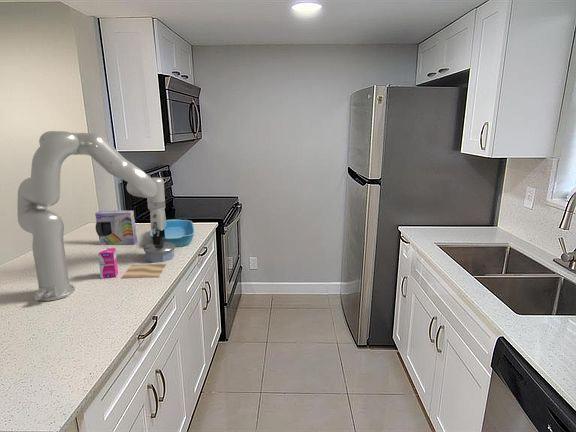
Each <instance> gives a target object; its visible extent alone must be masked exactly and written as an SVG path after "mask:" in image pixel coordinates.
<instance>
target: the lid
mask: <svg viewBox="0 0 576 432" xmlns="http://www.w3.org/2000/svg"><path fill="white" fill-rule="evenodd" d="M175 248H176V247H175V244H173V243H169V242H164V237H160V244H159V245H153V242H152V243H149V244H146V245H145V246H143V251H144V252H147V253H165V252H169V251H172V250H174V251H175Z"/></svg>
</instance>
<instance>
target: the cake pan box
mask: <svg viewBox="0 0 576 432" xmlns="http://www.w3.org/2000/svg"><path fill="white" fill-rule="evenodd" d="M134 212H135V211H134V210H117V209H116V210H115V209H114V210H97V212H95V215H94V216H95V219H96V220H95V221H96V223H95V231H96V235H97V236H98V239H99V241H98V242H99V245H101V246H105V245H106V246H108V245H109V246H111V245H113V246H115V245H118V246H119V245H136V244H137V243H138V235H137V227H136V226H137V225H136V221H135V213H134Z"/></svg>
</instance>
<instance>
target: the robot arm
mask: <svg viewBox="0 0 576 432" xmlns="http://www.w3.org/2000/svg"><path fill="white" fill-rule="evenodd" d="M38 141H39V143H38V144H39V146H38V148H37V149H36V150H35V153H34V155H33V156H32V160H31V167H30V168H31V170H30V177H27V178H25V179H23V181H22V182H21V183H20V184H19V186H18V189H17V222H18V225H19V227H20V228H21V229H22V230H24V231H25V232H27V233H30V234H31V235H32V243H31V244H32V245H31V247H32V253H33V255H32V256H33V260H34V261H33V262H34V268H35V273H36V279H37V280H36V281H37V284H38V285H37V286H38V290H37V291H36V292H35V293H34V296H33V299H34V300H35V301H39V302H40V301H42V302H50V301H57V300H60V299H63V298H66V297H69V296H70V295H72V294H74V292H75V290H76V287H75V286H74V285H73V284H70V278H69V272H68V270H69V269H68V264H67V263H68V262H67V257H66V250H65V244H64V243H65V242H64V230H65V229H64V228H65V225H64V221H63V219H62V218H61V216H60V215H59V214H58V213H56V212H55V211H52V210H49V209H48V207H52V206H54V205H56V204H57V203H58V202H59V200H60V197H61V173H62V171H61V170H62V165H63V163H64V162H65V161H66V159H67V158H68V157H70V156H71V155H73V156H75V155H76V156H77V155H81V156H83V155H84V156H85V155H86V156H89V157H91V158H92V159H93V160H94V161H95V162H97V164H98V165H99V166H101V168H103V169H104V170H105V171H106V172H107V173H108V174H110V175H111V176H113V177H116V178H118V179H121V180H123V181H125V182H127V184H126V191H127V193H128V194H130V195H131V196H133V197H138V198H144V199H147V200H146V201H147V209H148V210H149V212H150V213H149V216H150V217H149V218H150V231H151V230H152V238H153V240H152V243H153V245H159V244H160V237H164V238H165V230H164V228H165V227H166V220H167V217H166V211H165V209H166V198H165V197H166V196H165V181H164V179H163V178H162V177H150V176H149V175H148V174H147V173H146V172H145V171H143V170H142V169H141V168H139V167H138V166H136V165H135V164H133V163H132V162H131V161H129V160H127V159H126V158H125V157H124V156H123V155H122V154H121V153H120V152H119V151H118V150H117V149H116V148H115V147H114V146H113V145H112V144H111V143H109V141H108V140H107V139H106V138H105V137H103V136H102V135H100V134H99V133H91V132H70V131H62V130H58V131H56V130H48V131H46V132H44V133H42V134H41V135H40V136H39V140H38ZM157 232H158V233H157ZM152 238H151V239H152Z"/></svg>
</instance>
